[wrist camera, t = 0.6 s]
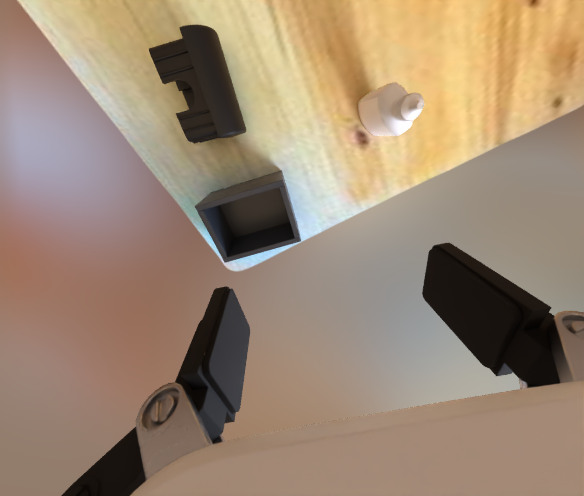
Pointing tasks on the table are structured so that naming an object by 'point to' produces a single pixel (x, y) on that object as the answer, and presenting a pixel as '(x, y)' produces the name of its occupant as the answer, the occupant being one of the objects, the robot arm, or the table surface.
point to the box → (250, 217)
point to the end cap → (200, 84)
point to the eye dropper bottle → (389, 110)
